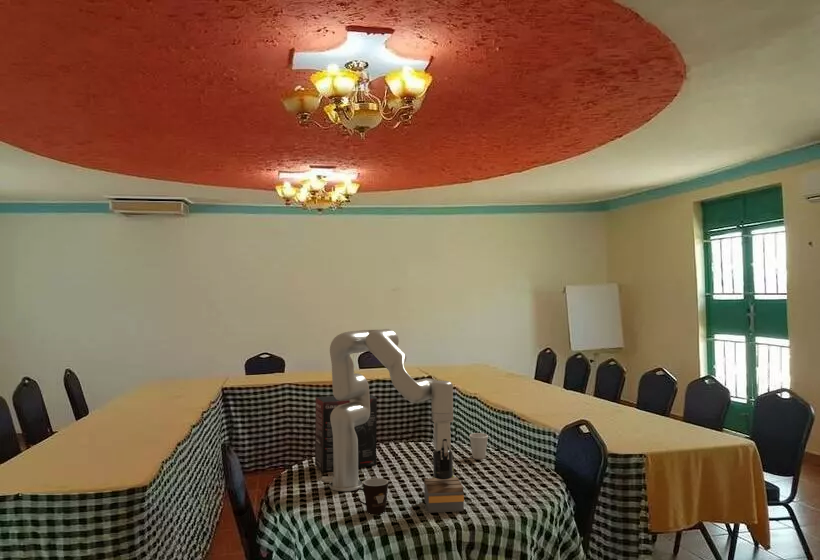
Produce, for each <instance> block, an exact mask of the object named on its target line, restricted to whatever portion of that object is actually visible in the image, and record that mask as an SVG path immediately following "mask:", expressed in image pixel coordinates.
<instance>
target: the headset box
mask: <svg viewBox="0 0 820 560" xmlns="http://www.w3.org/2000/svg"><path fill="white" fill-rule="evenodd" d="M369 395H370V417H369V419H368V421H367V422H366V423H364V424H362V425H359V426H356V427H354V429H355V432H356V434H357V438H358V469H359V468H367V467H374V466H377V428H378V427H377V425H378V424H377V420H378V419H377V417H378V416H377V415H378V414H377V412H378V411H377V410H378V409H377V408H378V405H377V404H378V401H377V400H378V398H377V396H374V395H373V394H370V393H369ZM346 403H350V400H345V401H339V400H337V399H336V398H335V397H334V395H327V396H315V433H314V434H315V437H314V438H315V439H314V442H315V445H314V447H315V449H314V454H315V455H314V462H315V463H314V465H315V466H316V467H317V468H318V469H319V470H320V471H321V472H322V473H325V472H334V471H333V432H332V426H331V421H330V416H331V413H332V411H333V409H334V408H336V407H337V406H339V405H342V404H346Z"/></svg>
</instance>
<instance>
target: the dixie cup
mask: <svg viewBox="0 0 820 560" xmlns="http://www.w3.org/2000/svg"><path fill="white" fill-rule="evenodd" d="M488 438H489V434H487V433H484V432H474V433H470V434H469V441H470V447H471V448H470V449H471V455H472V458H473V459H474V460H484V459H486V457H487V455H486V454H487V447H488V446H487V445H488Z"/></svg>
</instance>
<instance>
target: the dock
mask: <svg viewBox="0 0 820 560" xmlns="http://www.w3.org/2000/svg"><path fill="white" fill-rule="evenodd" d="M423 488H424V492H423V494H424V503H426V504H425V507H426V509H427V513H429V512H430V513H431V514H432V513H449V512H451V513H453V512H464V507H465V506H464V502H465V496H464V491H463V492H447V493H428V491H427V488H426V486H425V483H424V487H423Z"/></svg>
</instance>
